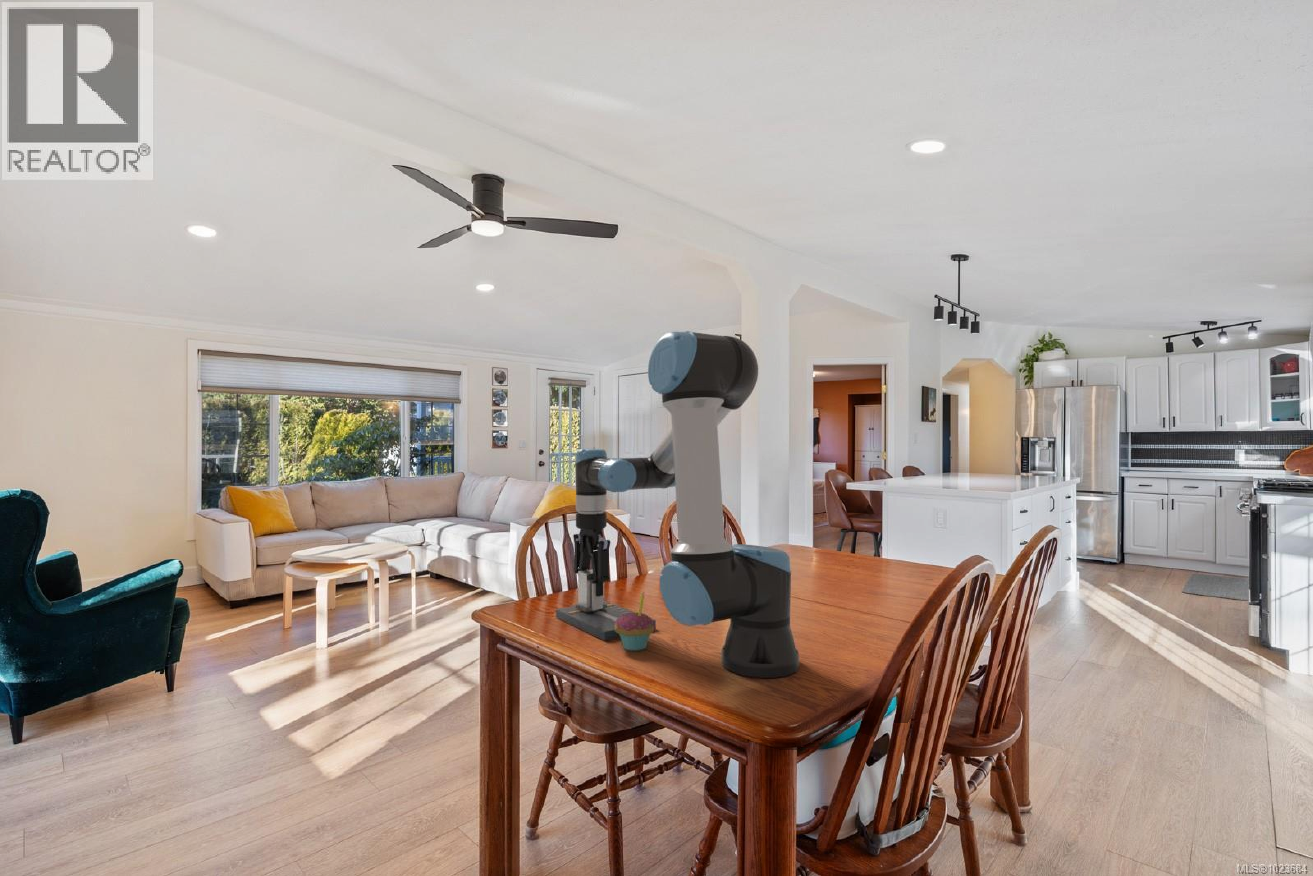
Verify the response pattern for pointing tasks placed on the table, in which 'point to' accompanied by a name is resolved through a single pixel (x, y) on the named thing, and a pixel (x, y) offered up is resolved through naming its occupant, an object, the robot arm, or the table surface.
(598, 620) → the board
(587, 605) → the block
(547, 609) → the table surface
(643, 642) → the cupcake
